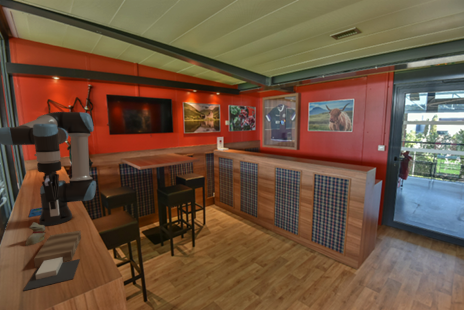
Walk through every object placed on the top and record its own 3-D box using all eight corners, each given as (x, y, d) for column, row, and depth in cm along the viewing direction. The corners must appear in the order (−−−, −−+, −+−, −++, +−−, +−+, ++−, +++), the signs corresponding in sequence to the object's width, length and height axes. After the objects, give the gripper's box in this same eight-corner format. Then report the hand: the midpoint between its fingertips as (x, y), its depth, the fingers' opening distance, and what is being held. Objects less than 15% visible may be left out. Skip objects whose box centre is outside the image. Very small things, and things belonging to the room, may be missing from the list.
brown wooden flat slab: (51, 243, 103) (50, 235, 102) (81, 237, 108) (80, 230, 108) (35, 267, 85) (34, 258, 85) (71, 260, 90) (71, 251, 90)
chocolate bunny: (47, 240, 106) (45, 221, 104) (26, 246, 100) (23, 226, 98) (45, 236, 109) (43, 217, 108) (24, 242, 103) (21, 223, 102)
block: (44, 265, 86) (44, 260, 86) (62, 261, 89) (62, 256, 89) (36, 279, 78) (35, 274, 78) (56, 274, 81) (56, 270, 81)
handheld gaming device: (28, 216, 131) (31, 208, 142) (28, 217, 131) (31, 210, 143) (46, 212, 136) (47, 206, 148) (46, 214, 136) (47, 207, 148)
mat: (37, 268, 85) (37, 267, 85) (79, 259, 91) (79, 258, 91) (23, 291, 73) (23, 290, 73) (73, 279, 79) (72, 278, 79)
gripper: (43, 159, 92) (48, 210, 96) (30, 165, 81) (38, 223, 84) (64, 158, 95) (69, 208, 99) (55, 163, 84) (61, 220, 87)
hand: (55, 215), depth 92 cm, fingers closed
